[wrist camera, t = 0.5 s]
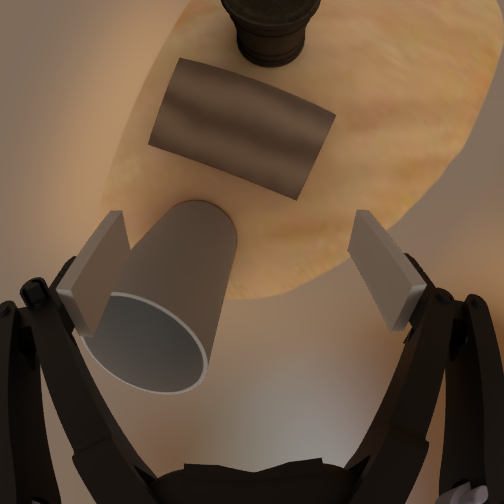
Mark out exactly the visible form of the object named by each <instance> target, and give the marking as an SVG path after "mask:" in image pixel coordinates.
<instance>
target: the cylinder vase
mask: <svg viewBox="0 0 504 504" xmlns="http://www.w3.org/2000/svg"><path fill="white" fill-rule="evenodd" d="M236 247H237V235H236V231H235V228H234V225H233V223H232V222H231V220H230V219H229V217H228V216H227V215H226V214H225V213H224V212H223V211H222V210H221V209H219V208H218V207H216V206H215V205H212V204H210V203H207V202H203V201H186V202H183V203H180V204H178V205H176V206H174V207H173V208H172V209H170V210H169V211H168V212H167V213H166V214H165V215H164V216H163V217H162V218H161V219H160V220H159V221H158V222H157V223H156V224H155V225H154V226H153V227H152V228H151V229H150V230H149V231H148V232H147V233H146V235H145V236H144V237H143V238H142V239H141V240H140V241H139V242H138V243H137V244H136V245H135V246H134V247H133V248H132V249H131V253H130V255H129V257H128V259H127V261H126V263H125V265H124V267H123V269H122V271H121V273H120V276H119V278H118V280H117V282H116V284H115V287H114V289H113V291H112V293H111V296H110V298H109V300H108V302H107V305H106V307H105V310H104V312H103V314H102V317H101V319H100V322H99V324H98V327H97V329H96V332H95V334H94V337H86V336H81V339H82V341H83V343H84V345H85V347H86V349H87V350H88V352H89V353H90V354H91V356H92V357H93V358H94V359H95V361H96V362H97V363H98V364H99V365H100V366H101V367H102V368H104V369H105V370H106V371H107V372H108V373H110V374H111V375H113V376H114V377H115V378H117V379H119V380H120V381H122V382H124V383H126V384H128V385H130V386H132V387H135V388H138V389H140V390H143V391H147V392H152V393H157V394H179V393H183V392H187V391H189V390H191V389H193V388H195V387H196V386H198V385H199V384H200V383H201V382H202V380H203V379H204V378H205V375H206V373H207V368H208V364H209V360H210V356H211V351H212V347H213V342H214V338H215V334H216V330H217V326H218V321H219V317H220V313H221V309H222V304H223V300H224V296H225V292H226V288H227V284H228V280H229V276H230V272H231V268H232V263H233V259H234V255H235V251H236Z"/></svg>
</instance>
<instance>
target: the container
mask: <svg viewBox="0 0 504 504" xmlns="http://www.w3.org/2000/svg"><path fill="white" fill-rule="evenodd" d="M320 1H321V0H221V3H222V5H223V7H224V8H225V10H226V11H227V12H228V13H229V15H230V17H231V19H232V21H233V22H234V25H235V27H236V31H237V44H238V48H239V50H240V52H241V53H242V55H243V56H244V57H245V58H246V59H247V60H249V61H250V62H252V63H254V64H256V65H259V66H263V67H278V66H283V65H285V64H288V63H290V62H291V61H293V60H294V59H295V58H296V57H297V56H298V55H299V54H300V52H301V51H302V49H303V46H304V41H305V28H306V26H307V23H308V22H309V20H310V18H311V17H312V16H313V15H314V14H315V13H316V11H317V9H318V7H319V5H320Z"/></svg>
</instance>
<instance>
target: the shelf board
mask: <svg viewBox="0 0 504 504" xmlns="http://www.w3.org/2000/svg"><path fill="white" fill-rule="evenodd" d="M335 117H336V115H335V114H333V113H331V112H329V111H327V110H325V109H323V108H321V107H319V106H317V105H315V104H313V103H310V102H308V101H306V100H304V99H301V98H299V97H297V96H294V95H292V94H290V93H287V92H285V91H282V90H280V89H277V88H275V87H272V86H270V85H267V84H264V83H262V82H259V81H256V80H254V79H251V78H248V77H245V76H242V75H239V74H236V73H233V72H230V71H227V70H223V69H220V68H217V67H213V66H210V65H206V64H203V63H199V62H195V61H191V60H187V59H183V58H179V60H178V63H177V65H176V67H175V70H174V72H173V75H172V77H171V80H170V82H169V85H168V87H167V90H166V93H165V95H164V98H163V101H162V104H161V106H160V109H159V112H158V115H157V118H156V121H155V124H154V127H153V130H152V133H151V136H150V140H149V143H148V145H151V146H154V147H157V148H160V149H163V150H166V151H169V152H172V153H175V154H178V155H181V156H184V157H186V158H189V159H192V160H195V161H198V162H200V163H203V164H206V165H209V166H211V167H214V168H217V169H219V170H222V171H225V172H227V173H230V174H232V175H235V176H238V177H240V178H243V179H245V180H248V181H250V182H253V183H255V184H258V185H260V186H263V187H265V188H268V189H270V190H272V191H275V192H277V193H280V194H282V195H284V196H287V197H289V198H291V199H294V200H296V201H297V199H298V196H299V194H300V192H301V190H302V188H303V186H304V184H305V182H306V179H307V177H308V175H309V173H310V171H311V169H312V167H313V164H314V162H315V160H316V158H317V156H318V154H319V151H320V149H321V147H322V145H323V143H324V141H325V138H326V136H327V134H328V132H329V130H330V128H331V125H332V123H333V121H334V119H335Z"/></svg>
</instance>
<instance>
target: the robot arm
mask: <svg viewBox="0 0 504 504" xmlns="http://www.w3.org/2000/svg"><path fill="white" fill-rule="evenodd" d="M348 252H349V253H350V255H351V257H352V259H353V261H354V262H355V264H356V266H357V268H358V270H359V272H360V273H361V275H362V277H363V279H364V281H365V283H366V285H367V286H368V288H369V290H370V292H371V294H372V296H373V298H374V300H375V302H376V304H377V306H378V308H379V310H380V312H381V314H382V316H383V318H384V320H385V322H386V324H387V326H388V328H389V330H390V332H396V331H402V330H404V329H405V327H406V325H407V323H408V322H410V324H411V326H412V328H411V330H410V332H409V333H408V335H407V337H406V339H405V340H404V342H403V343H404V344H405V346H404V349H403V352H402V354H401V357H400V360H399V362H398V365H397V368H396V370H395V373H394V375H393V377H392V380H391V382H390V385H389V387H388V390H387V392H386V394H385V396H384V398H383V401H382V403H381V405H380V407H379V409H378V411H377V413H376V415H375V417H374V419H373V421H372V424H371V426H370V427H369V429H368V431H367V433H366V435H365V437H364V439H363V441H362V442H361V444H360V446H359V448H358V449H357V451H356V452H355V454H354V455H353V456H352V458H351V459H350V460H349V461H348V463H347V464H346V466H345V467H344V468H342V467H339V466H335V465H330V464H324V463H323V462H322V458H316V459H309V460H302V461H294V462H288V463H285V464H282V465H279V466H276V467H273V468H269V469H266V470H263V471H259V472H247V471H242V470H237V469H233V468H228V467H224V466H220V465H200V464H184V469H182V470H177V471H174V472H170V473H168V474H165V475H163V476H161V477H159V478H157V477H156V476H155V474H154V473H153V472H152V471H151V470H150V468H149V467H148V466H147V465H146V464H145V463H144V462H143V460H142V459H141V458H140V457H139V456H138V454H137V453H136V451H135V450H134V448H133V447H132V445H131V444H130V442H129V441H128V439H127V438H126V436H125V435H124V433H123V431H122V430H121V428H120V427H119V425H118V423H117V422H116V420H115V418H114V417H113V415H112V413H111V412H110V410H109V408H108V407H107V405H106V403H105V401H104V399H103V398H102V396H101V394H100V392H99V390H98V388H97V386H96V384H95V382H94V380H93V378H92V376H91V374H90V372H89V370H88V368H87V366H86V364H85V362H84V359H83V357H82V355H81V353H80V350H79V348H78V346H77V343H76V341H75V339H74V337H73V335H72V332H73V329H74V327H75V328H76V330H77V332H78V334H79V336H86V337H94V334H95V332H96V329H97V327H98V324H99V322H100V319H101V317H102V314H103V312H104V310H105V307H106V305H107V302H108V300H109V298H110V296H111V293H112V291H113V289H114V287H115V284H116V282H117V280H118V278H119V276H120V273H121V271H122V269H123V267H124V265H125V263H126V261H127V259H128V257H129V255H130V253H131V250H130V246H129V242H128V237H127V232H126V228H125V223H124V218H123V212H122V210H121V211H110V212H109V213H108V215H107V216H106V217H105V218H104V220H103V221H102V222H101V224H100V225H99V226H98V228H97V229H96V230H95V232H94V233H93V234H92V236H91V237H90V238H89V240H88V241H87V243H86V244H85V246H84V247H83V248H82V250H81V251H80V253H79V254H78V255H77V256H73V257H72V258H71V259H69V260H68V261H67V262H66V263H65V264H64V266H63V267H62V269H61V271H60V272H59V273H58V276H56V278H55V280H54V281H53V282H52V284H51V286H50V287H49V289H48V286H47V284H46V282H45V280H44V279H43V278H41V277H38V278H33V279H31V280H29V281H28V282H26V283H25V284H24V285H23V286H22V288H21V289H20V295H21V297H22V299H23V301H24V303H25V305H26V306H27V307H23V308H17V306H16V305H15V303H14V302H13V301H5V302H3V303H1V304H0V504H61V497H60V493H59V489H58V485H57V481H56V477H55V473H54V469H53V465H52V460H51V456H50V451H49V446H48V440H47V434H46V428H45V421H44V412H43V404H42V392H41V375H40V364H41V368H42V371H43V374H44V377H45V380H46V384H47V387H48V390H49V393H50V395H51V398H52V401H53V404H54V406H55V409H56V411H57V414H58V416H59V419H60V421H61V424H62V426H63V428H64V431H65V433H66V435H67V437H68V439H69V442H70V444H71V446H72V448H73V450H74V455H73V456H72V460H73V463H74V465H75V467H76V469H77V471H78V473H79V475H80V477H81V478H82V480H83V482H84V484H85V485H86V487H87V489H88V490H89V492H90V493H91V495H92V497H93V499H94V500H95V502H96V503H97V504H405V502H406V500H407V499H408V496H409V494H410V492H411V490H412V488H413V486H414V484H415V482H416V479H417V477H418V475H419V472H420V470H421V467H422V465H423V462H424V460H425V457H426V455H427V452H428V448H429V442H428V441H426V439H425V437H426V434H427V431H428V428H429V425H430V422H431V418H432V416H433V412H434V409H435V406H436V402H437V398H438V395H439V391H440V387H441V383H442V379H443V374H444V369H445V375H446V376H445V377H446V410H445V431H444V444H443V454H442V462H441V469H440V478H439V497H438V499H437V500H436V502H435V504H504V373H503V367H502V362H501V357H500V352H499V347H498V343H497V339H496V335H495V331H494V327H493V323H492V319H491V316H490V312H489V309H488V306H487V304H486V302H485V301H484V300H483V299H482V298H481V297H480V296H477V295H475V294H469V295H468V296H467V298H466V300H465V301H464V302H462V301H457V300H454V298H453V296H452V295H451V294H450V293H449V292H448V291H446V290H445V289H441V288H436V287H435V286H434V284H433V283H432V281H431V280H430V279H429V278H428V276H427V275H426V273H425V272H423V269H422V268H421V267H419V264H418V263H417V262H416V260H415V259H414V258H413V257H411V256H410V255H409V254H407V253H403V252H402V250H401V249H400V248H399V247H398V245H397V244H396V243H395V242H394V240H393V239H392V238H391V237H390V235H389V234H388V233H387V232H386V230H385V229H384V228H383V227H382V226H381V224H380V223H379V222H378V221H377V220H376V218H375V217H374V216H373V215H372V214H371V213H370V211H369V210H357V211H356V216H355V221H354V225H353V230H352V234H351V239H350V243H349V247H348Z"/></svg>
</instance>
